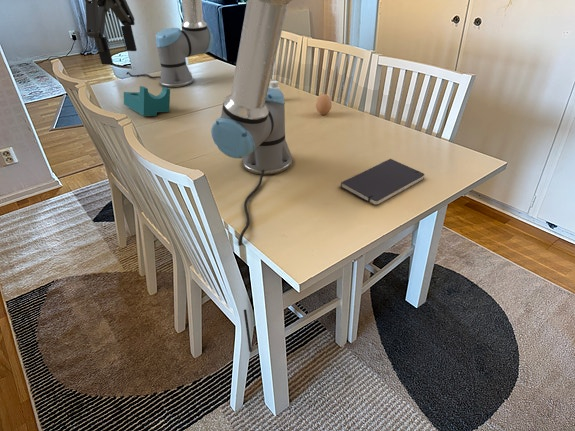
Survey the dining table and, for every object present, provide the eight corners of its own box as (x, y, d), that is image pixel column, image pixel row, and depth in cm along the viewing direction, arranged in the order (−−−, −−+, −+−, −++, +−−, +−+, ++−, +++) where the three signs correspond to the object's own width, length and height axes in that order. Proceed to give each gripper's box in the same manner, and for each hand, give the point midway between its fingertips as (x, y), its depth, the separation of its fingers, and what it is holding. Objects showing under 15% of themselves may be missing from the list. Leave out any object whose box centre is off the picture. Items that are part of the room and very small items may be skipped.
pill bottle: (270, 98, 174) (269, 80, 169) (280, 98, 173) (280, 80, 169) (269, 101, 170) (267, 83, 166) (279, 102, 170) (278, 83, 165)
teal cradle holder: (169, 115, 164) (170, 89, 159) (143, 115, 156) (144, 88, 152) (148, 104, 174) (148, 79, 170) (123, 104, 167) (123, 78, 163)
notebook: (389, 163, 124) (340, 187, 113) (390, 158, 123) (341, 182, 112) (424, 178, 116) (375, 206, 105) (425, 174, 115) (376, 201, 104)
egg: (320, 118, 154) (320, 97, 149) (313, 113, 158) (313, 93, 154) (334, 115, 156) (335, 95, 151) (326, 110, 160) (327, 90, 156)
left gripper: (258, 4, 162) (261, 59, 174) (244, 16, 142) (248, 77, 154) (276, 4, 161) (278, 59, 173) (265, 16, 141) (268, 77, 153)
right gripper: (108, -39, 108) (128, 45, 120) (50, -30, 88) (82, 70, 100) (134, -39, 107) (152, 46, 119) (82, -30, 87) (110, 70, 99)
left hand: (264, 67), depth 164 cm, fingers open, 13 cm apart
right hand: (120, 57), depth 110 cm, fingers open, 13 cm apart
